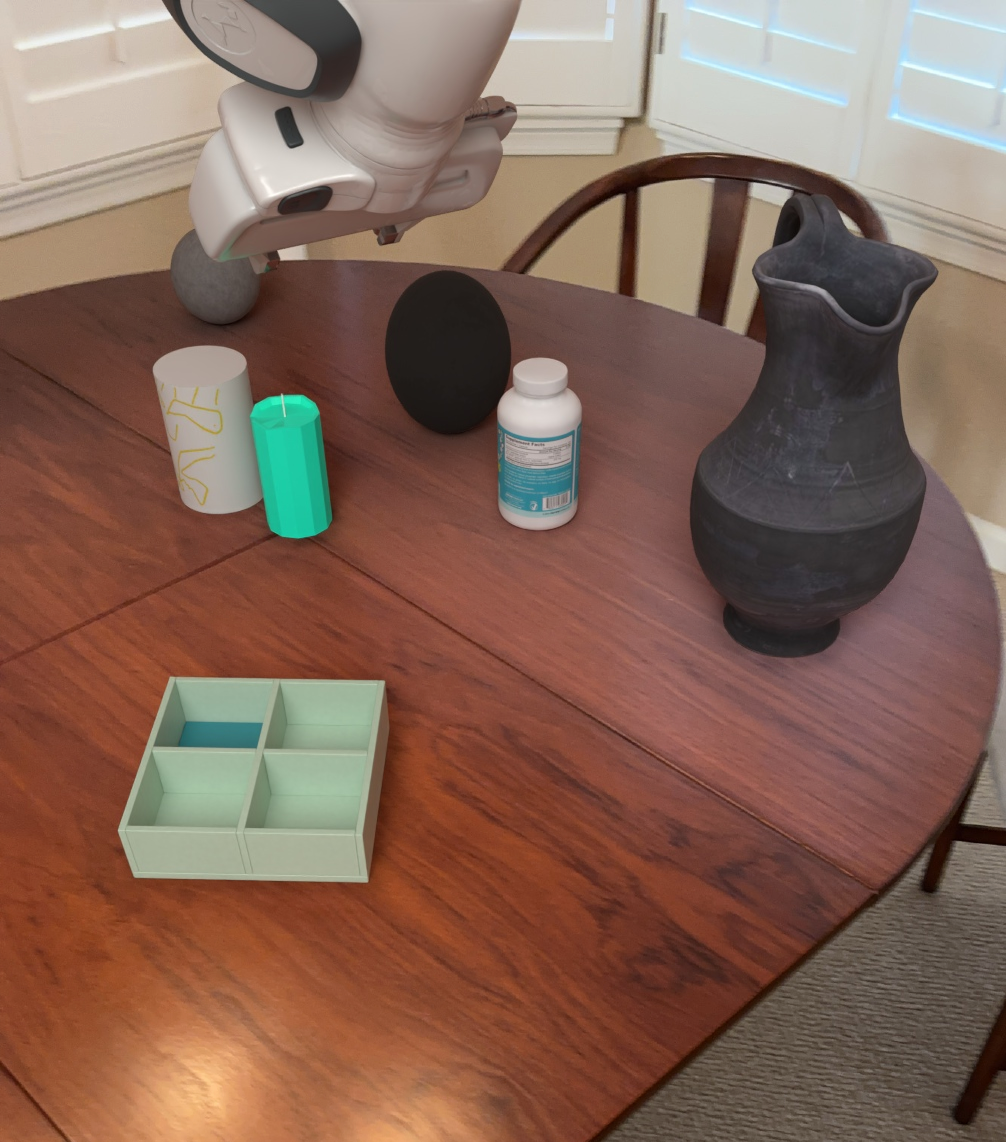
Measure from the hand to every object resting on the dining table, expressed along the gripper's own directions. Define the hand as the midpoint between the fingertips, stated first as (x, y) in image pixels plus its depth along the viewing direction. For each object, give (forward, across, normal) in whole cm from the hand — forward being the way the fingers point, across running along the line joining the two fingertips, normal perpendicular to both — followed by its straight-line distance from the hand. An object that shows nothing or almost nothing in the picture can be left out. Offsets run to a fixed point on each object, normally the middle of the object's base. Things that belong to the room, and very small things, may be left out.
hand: (323, 247), depth 82 cm
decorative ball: (+60, -11, -21) cm, 64 cm away
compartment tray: (+5, +18, +34) cm, 38 cm away
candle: (+28, 0, +11) cm, 30 cm away
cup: (+34, +4, +5) cm, 35 cm away
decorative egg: (+34, -21, +5) cm, 40 cm away
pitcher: (+5, -28, +35) cm, 45 cm away
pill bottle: (+21, -20, +18) cm, 34 cm away
